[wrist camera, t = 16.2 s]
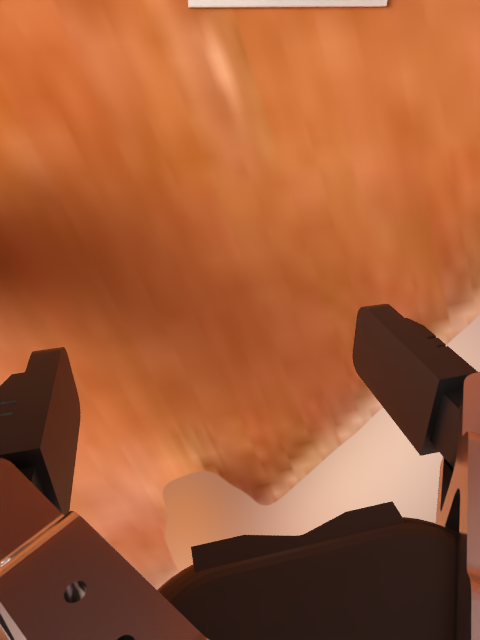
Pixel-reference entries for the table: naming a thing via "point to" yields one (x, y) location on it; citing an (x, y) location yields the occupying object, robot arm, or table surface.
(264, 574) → the robot arm
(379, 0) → the white mat
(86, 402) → the table surface
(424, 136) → the table surface
